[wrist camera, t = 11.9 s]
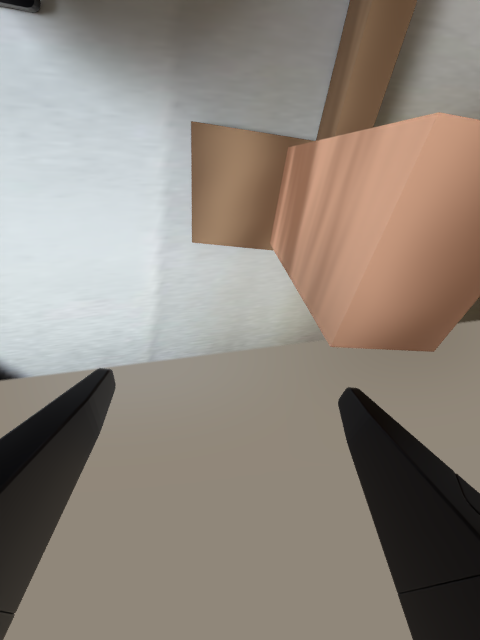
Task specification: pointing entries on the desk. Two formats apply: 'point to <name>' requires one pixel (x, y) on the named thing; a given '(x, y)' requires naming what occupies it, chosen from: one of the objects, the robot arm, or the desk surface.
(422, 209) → the wooden l-shaped stand
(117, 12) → the desk surface
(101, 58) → the desk surface
